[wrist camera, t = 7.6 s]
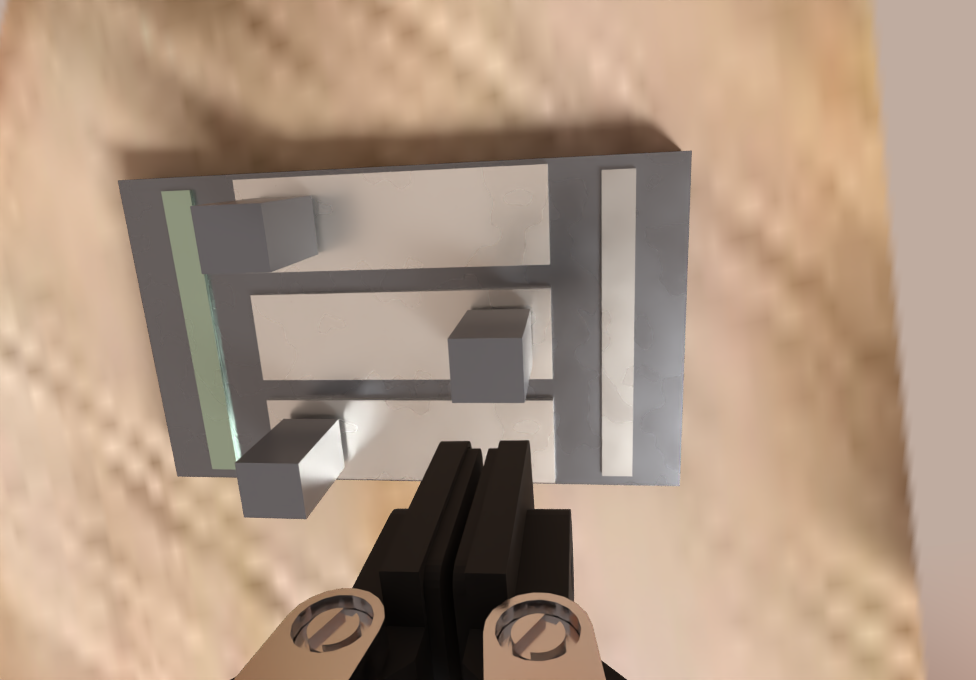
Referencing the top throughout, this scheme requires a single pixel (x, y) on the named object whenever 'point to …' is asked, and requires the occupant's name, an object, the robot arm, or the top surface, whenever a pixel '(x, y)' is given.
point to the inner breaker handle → (290, 468)
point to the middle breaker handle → (491, 356)
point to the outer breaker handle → (254, 234)
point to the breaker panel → (431, 314)
